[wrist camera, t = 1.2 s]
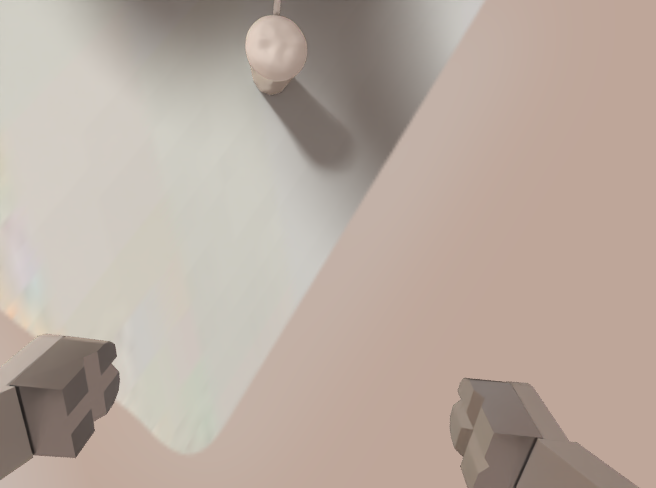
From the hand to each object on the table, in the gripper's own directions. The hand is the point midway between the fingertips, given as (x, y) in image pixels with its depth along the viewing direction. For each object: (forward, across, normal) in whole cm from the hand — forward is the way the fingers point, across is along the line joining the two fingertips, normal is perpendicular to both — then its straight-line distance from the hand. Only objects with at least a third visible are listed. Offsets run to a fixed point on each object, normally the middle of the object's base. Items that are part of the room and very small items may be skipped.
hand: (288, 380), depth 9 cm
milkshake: (+32, +6, -7) cm, 34 cm away
